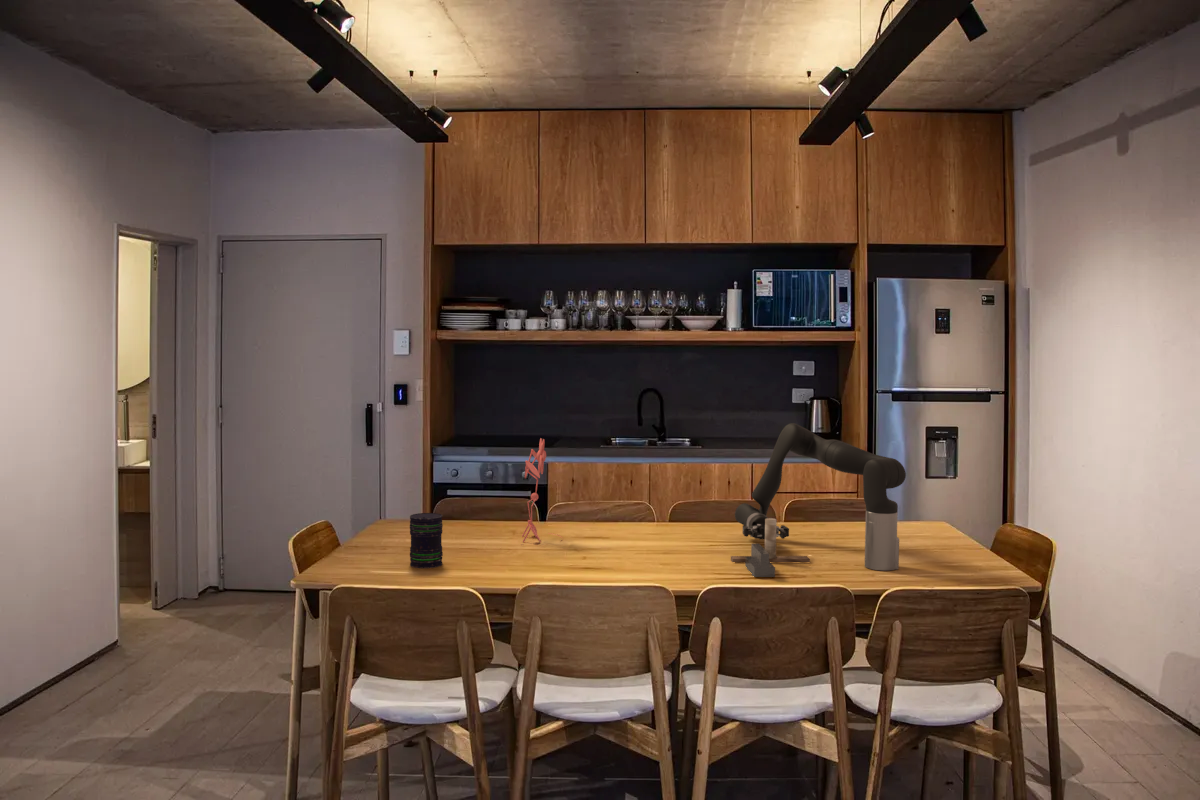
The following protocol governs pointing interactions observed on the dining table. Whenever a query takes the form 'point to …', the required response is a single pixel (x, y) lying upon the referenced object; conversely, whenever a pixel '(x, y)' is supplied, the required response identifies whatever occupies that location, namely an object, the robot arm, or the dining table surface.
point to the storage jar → (426, 540)
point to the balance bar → (772, 546)
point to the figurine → (540, 458)
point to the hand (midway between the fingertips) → (770, 535)
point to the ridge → (759, 562)
